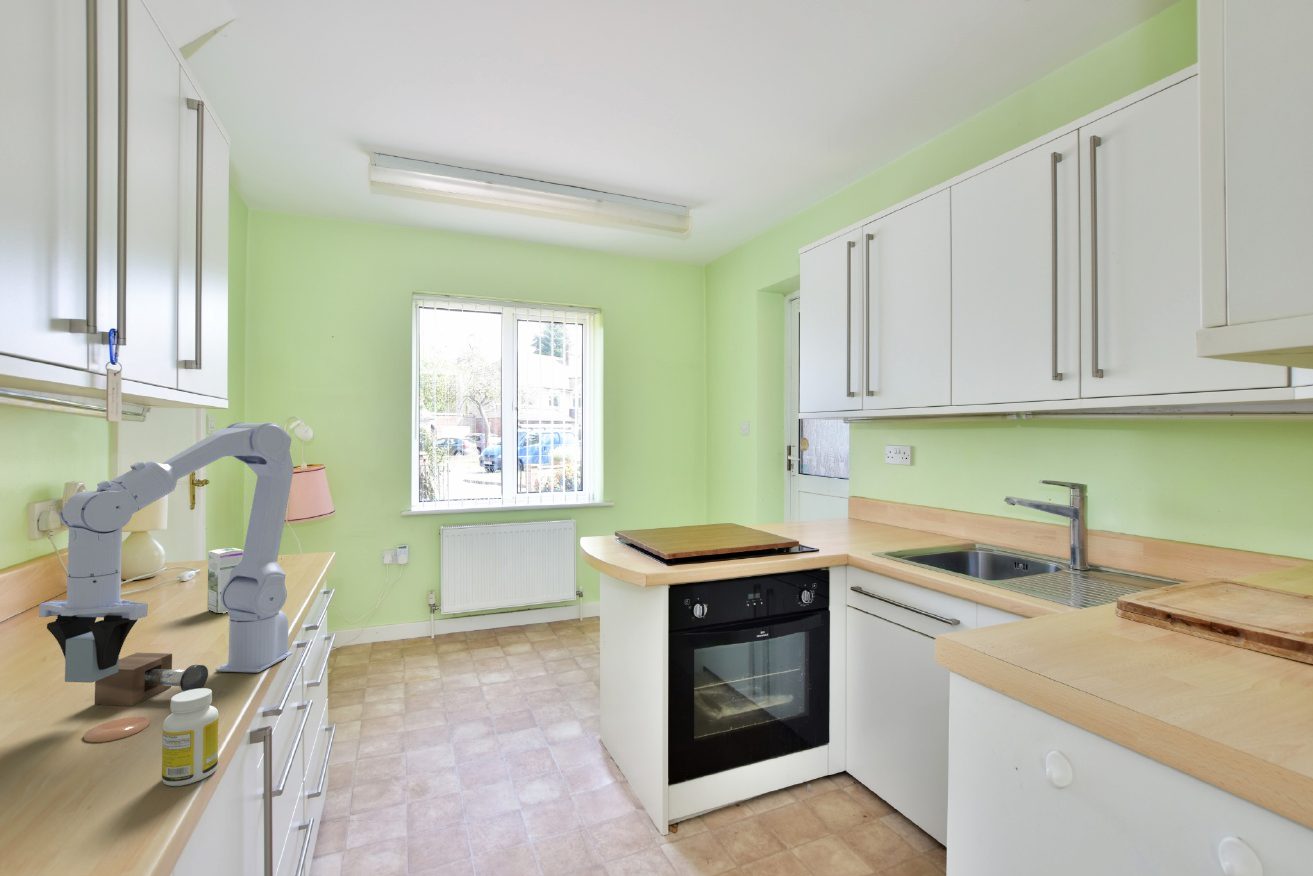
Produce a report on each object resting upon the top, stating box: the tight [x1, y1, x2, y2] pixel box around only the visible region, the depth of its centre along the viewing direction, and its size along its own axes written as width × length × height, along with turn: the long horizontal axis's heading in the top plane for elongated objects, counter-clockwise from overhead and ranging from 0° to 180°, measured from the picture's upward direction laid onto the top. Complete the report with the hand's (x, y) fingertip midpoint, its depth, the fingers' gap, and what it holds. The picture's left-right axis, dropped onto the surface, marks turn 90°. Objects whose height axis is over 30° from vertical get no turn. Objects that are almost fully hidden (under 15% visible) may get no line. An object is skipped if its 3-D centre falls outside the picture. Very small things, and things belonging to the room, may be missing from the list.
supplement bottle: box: [161, 687, 219, 787], centre depth 73 cm, size 5×5×10 cm
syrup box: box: [207, 547, 244, 614], centre depth 142 cm, size 6×6×14 cm
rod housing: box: [94, 652, 173, 707], centre depth 94 cm, size 7×6×6 cm
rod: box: [144, 664, 209, 692], centre depth 94 cm, size 4×8×4 cm, turn 88°
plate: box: [83, 716, 150, 743], centre depth 83 cm, size 7×7×1 cm
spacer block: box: [64, 632, 120, 684], centre depth 87 cm, size 4×4×6 cm
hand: (92, 666), depth 87 cm, fingers closed on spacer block, 4 cm apart
